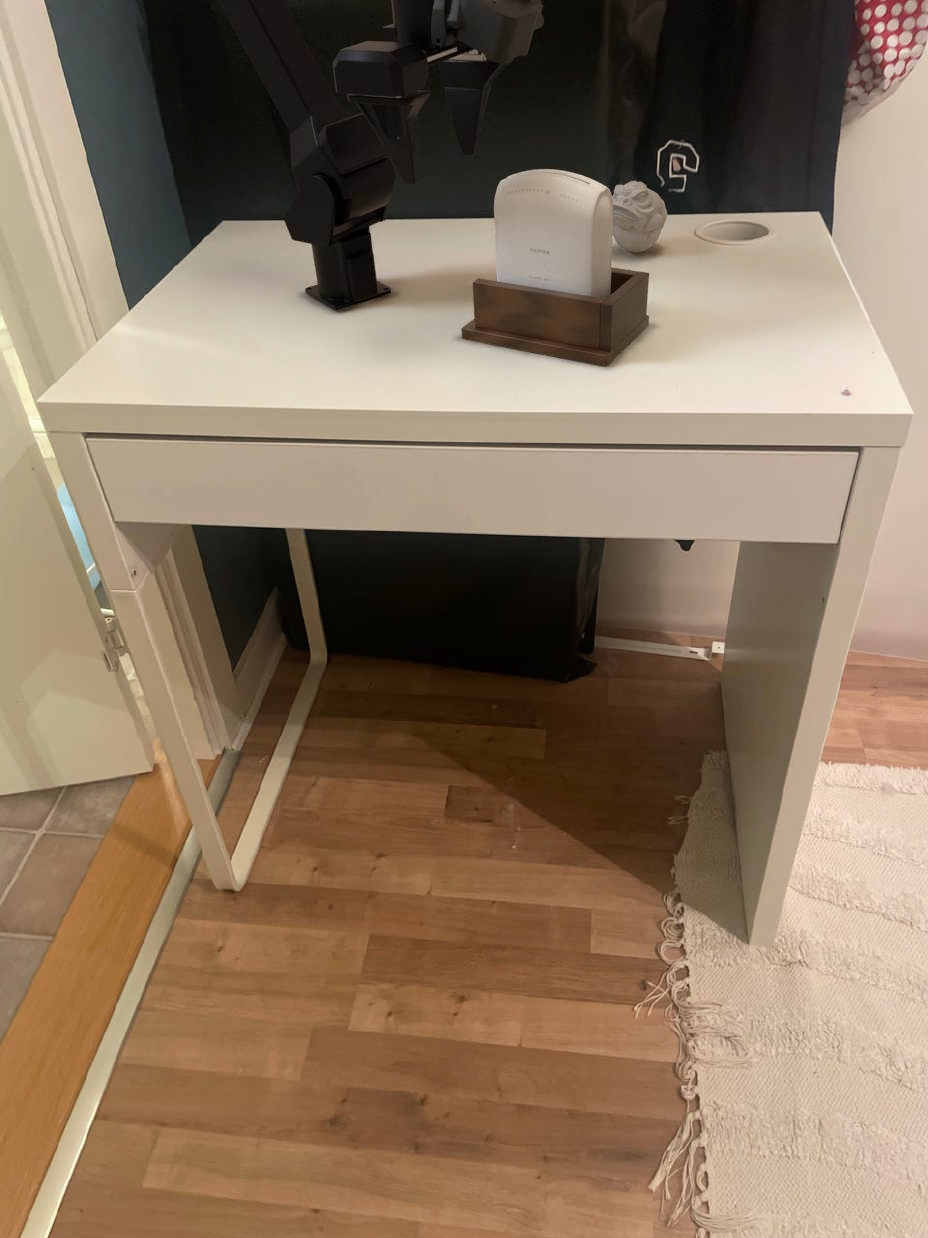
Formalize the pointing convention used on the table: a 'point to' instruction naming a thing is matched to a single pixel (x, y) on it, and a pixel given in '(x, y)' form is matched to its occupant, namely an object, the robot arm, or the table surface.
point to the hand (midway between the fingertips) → (440, 168)
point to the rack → (561, 318)
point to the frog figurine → (637, 216)
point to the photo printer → (554, 232)
